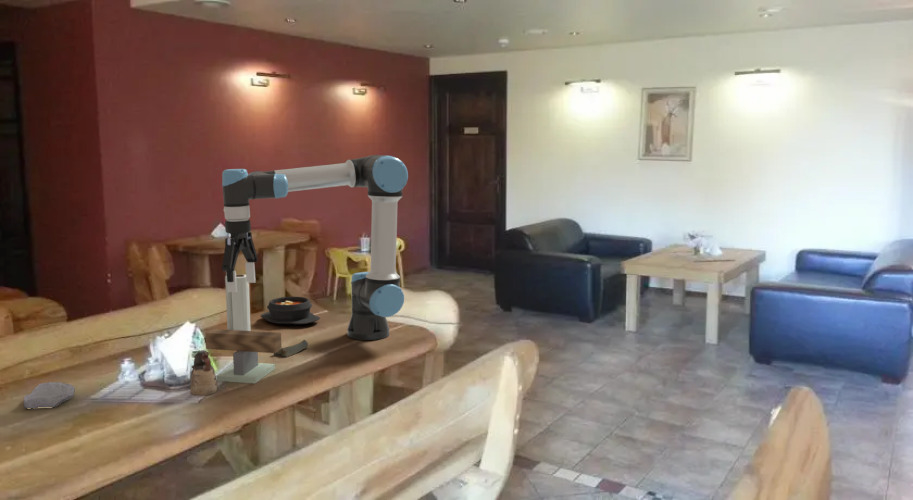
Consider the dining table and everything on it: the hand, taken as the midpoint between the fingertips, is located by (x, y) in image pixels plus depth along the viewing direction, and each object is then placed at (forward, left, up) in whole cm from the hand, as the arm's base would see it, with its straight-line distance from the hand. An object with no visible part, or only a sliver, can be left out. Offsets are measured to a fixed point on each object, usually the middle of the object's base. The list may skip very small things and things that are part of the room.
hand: (242, 287), depth 231 cm
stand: (-6, +11, -24) cm, 27 cm away
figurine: (-1, +27, -25) cm, 36 cm away
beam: (-5, +11, -16) cm, 20 cm away
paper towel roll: (+17, -32, -25) cm, 44 cm away
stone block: (+35, +42, -25) cm, 60 cm away
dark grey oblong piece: (-10, -14, -25) cm, 30 cm away
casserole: (+6, -51, -25) cm, 57 cm away
